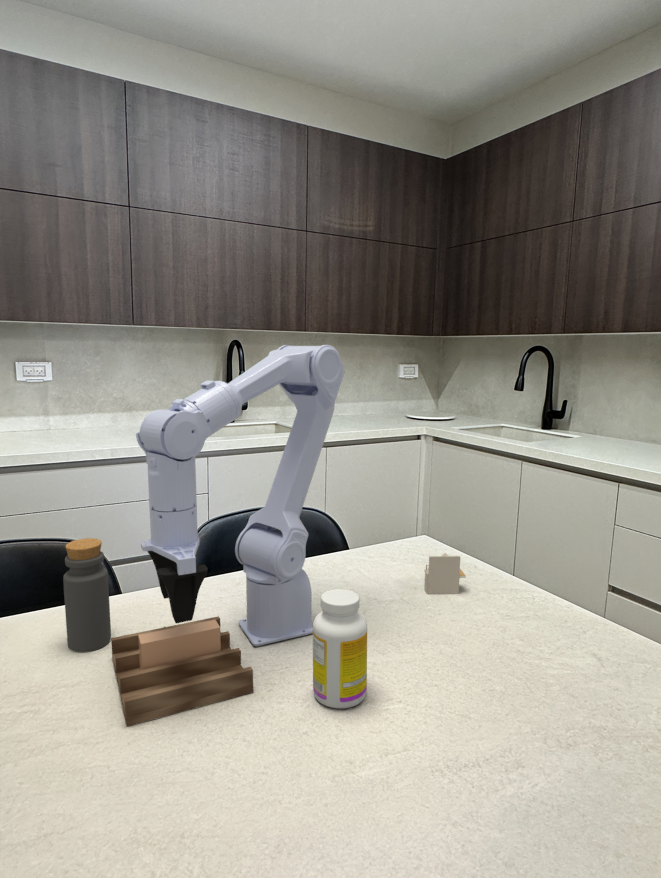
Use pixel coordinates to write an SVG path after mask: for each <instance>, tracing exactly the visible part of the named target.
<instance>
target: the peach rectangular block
mask: <svg viewBox="0 0 661 878" xmlns="http://www.w3.org/2000/svg"><path fill="white" fill-rule="evenodd" d="M220 631H221V625H220V626H219V625H218V623H217V621H216V620H210V621H205V622H200V623H195V624H190V625H185V626H180V627H175V628H170V629H165V630H160V631H155V632H150V633H145V634H140V635H138V640H139V661H140V671H141V670H145V669H149V668H154V667H158V666H162V665H167V664H171V663H175V662H180V661H184V660H188V659H193V658H197V657H201V656H206V655H210V654H214V653H219V652H221V640H220Z"/></svg>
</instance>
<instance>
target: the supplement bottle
mask: <svg viewBox="0 0 661 878" xmlns="http://www.w3.org/2000/svg"><path fill="white" fill-rule="evenodd" d="M360 602H361V601H360V595H359V594H358V593H356V592H355V591H352V590H349V589H343V588H338V589H337V588H336V589H331V590H327V591H324V592H323V593H322V594H321V597H320V608H321V610H322V611H320V612H319V613H318V614H317V615H316V616H315V618H314V619H313V622H312V629H313V633H312V691H313V695H314V698H316V700H317V701H318V702H319V703H320V704H322V705H324V706H326V707H328V708H329V707H330V708H332V709H348V708H352V707H355V706H357V705H358V704H360V703H361V702H363V700H364V699H365V698H366V695H367V691H368V690H367V689H368V688H367V687H368V685H367V684H368V683H367V682H368V623H367V620H366V618H365V616H364V615H363V614H362V613H360V612H359V608H360V604H361V603H360Z"/></svg>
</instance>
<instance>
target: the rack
mask: <svg viewBox="0 0 661 878" xmlns="http://www.w3.org/2000/svg"><path fill="white" fill-rule="evenodd" d="M210 620H216V621H217V623H218V625H219V626H220V627H221V618H220V616H219V615H218V616H215V617H209V618H204V619H198V620H195V621H194V620H192V621H187V622H182V623H177V624H174V625H170V626H164V627H160V628H155V629H149V630H145V631H144V630H143V631H139V632H134V633H130V634H124V635H120V636H115V637H111V640H110V642H111V643H110V644H111V656H112V657H111V659H112V663H113V669H114V673H115V678H116V683H117V687H118V693H119V698H120V702H121V707H122V713H123V716H124V722H125V726H126V727H130V726H131V727H132V726H135V725H138V724H142V723H145V722H150V721H153V720H157V719H160V718H163V717H164V718H165V717H168V716H171V715H174V714H175V715H176V714H179V713H182V712H186V711H190V710H193V709H197V708H200V707H206V706H208V705H211V704H212V705H213V704H215V703H219V702H223V701H227V700H230V699H234V698H239V697H242V696H245V695H249V694H253V693H254V669H253V667H252V666H247V667H243V666H242V655H241V654H242V653H241V652H242V651H241V649H240V647H237V648H231V633H230V631H228V630H227V631H223V632H222V631H221V630H220V640H221V652H219V653H214V654H210V655H206V656H201V657H197V658H193V659H188V660H184V661H180V662H175V663H171V664H167V665H162V666H158V667H154V668H149V669H145V670H141V671H140V661H139V640H138V635H140V634H145V633H150V632H155V631H160V630H165V629H170V628H175V627H180V626H185V625H190V624H195V623H200V622H205V621H210Z"/></svg>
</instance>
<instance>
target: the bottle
mask: <svg viewBox="0 0 661 878" xmlns="http://www.w3.org/2000/svg"><path fill="white" fill-rule="evenodd" d="M65 549H66V552H67V555H66V556H65V558H64V563H65V566H66V567H67V568H69V570H67V571H66V572H65V573H64V574H63V576H62V577H63V579H62V582H63V595H64V609H65V610H64V611H65V612H64V613H65V627H66V639H67V640H66V641H67V646H68V649H69V650H71V651H72V652H76V653H88V652H93V651H96V650H99V649H102V648H104V647H105V646H107V645H108V644H109V643H110V642H111V638H112V629H111V628H112V627H111V612H110V610H111V609H110V591H109V590H110V589H109V576H108V575H109V573H108V569H107V568H106V567H104V566H102V565H101V563H103V562H104V561H105V553H104V552H103V551H101V549H102V540H101V539H98V538H93V537H90V538H89V537H87V538H81V539H75V540H72V541H70V542H68V543H67V544H65Z"/></svg>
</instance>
